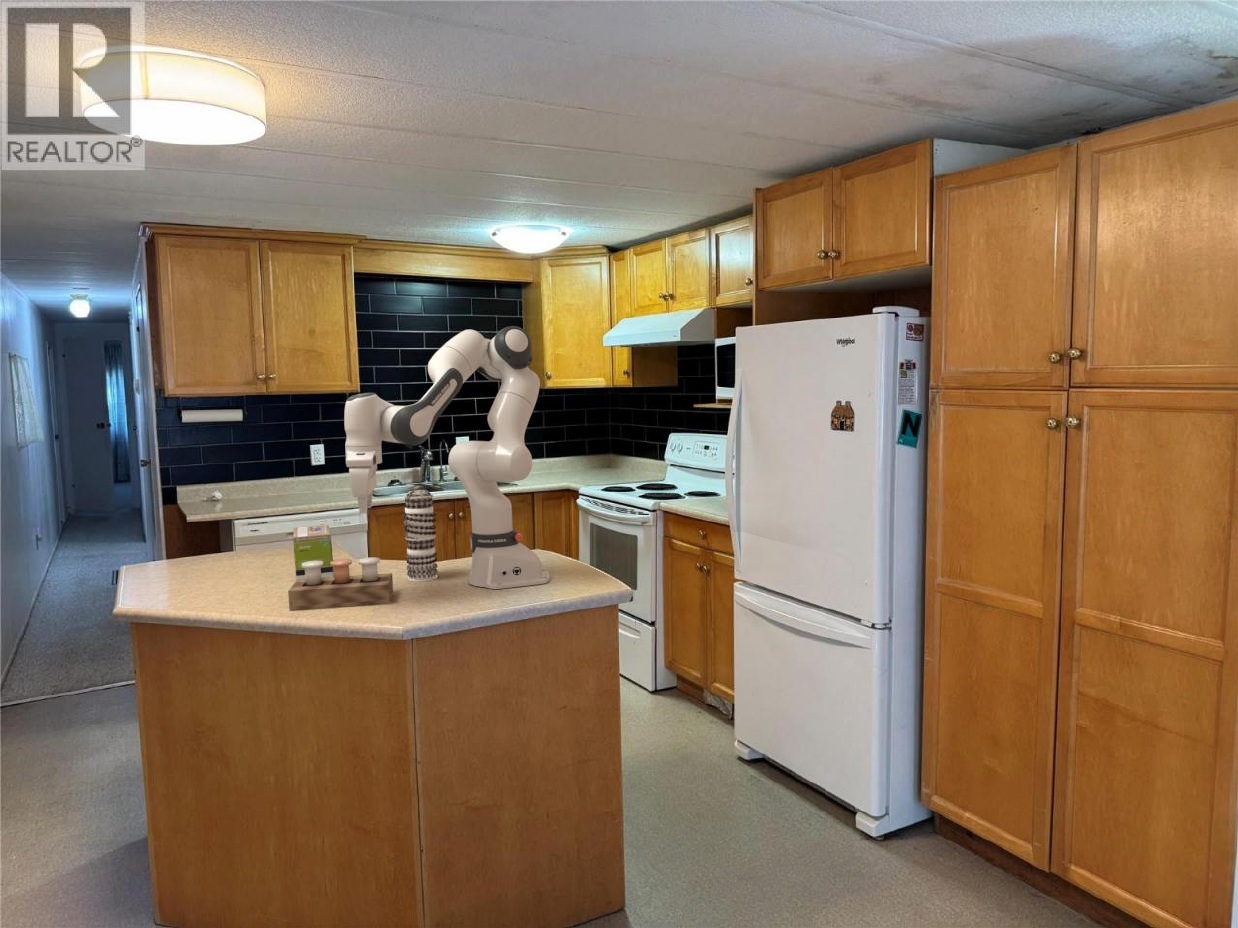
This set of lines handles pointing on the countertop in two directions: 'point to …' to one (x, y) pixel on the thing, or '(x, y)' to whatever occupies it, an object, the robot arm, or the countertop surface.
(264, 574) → the countertop surface
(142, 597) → the countertop surface
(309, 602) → the socket board
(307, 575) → the grey plug
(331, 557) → the tea box
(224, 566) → the countertop surface
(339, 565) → the terracotta plug
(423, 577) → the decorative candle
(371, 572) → the grey plug
